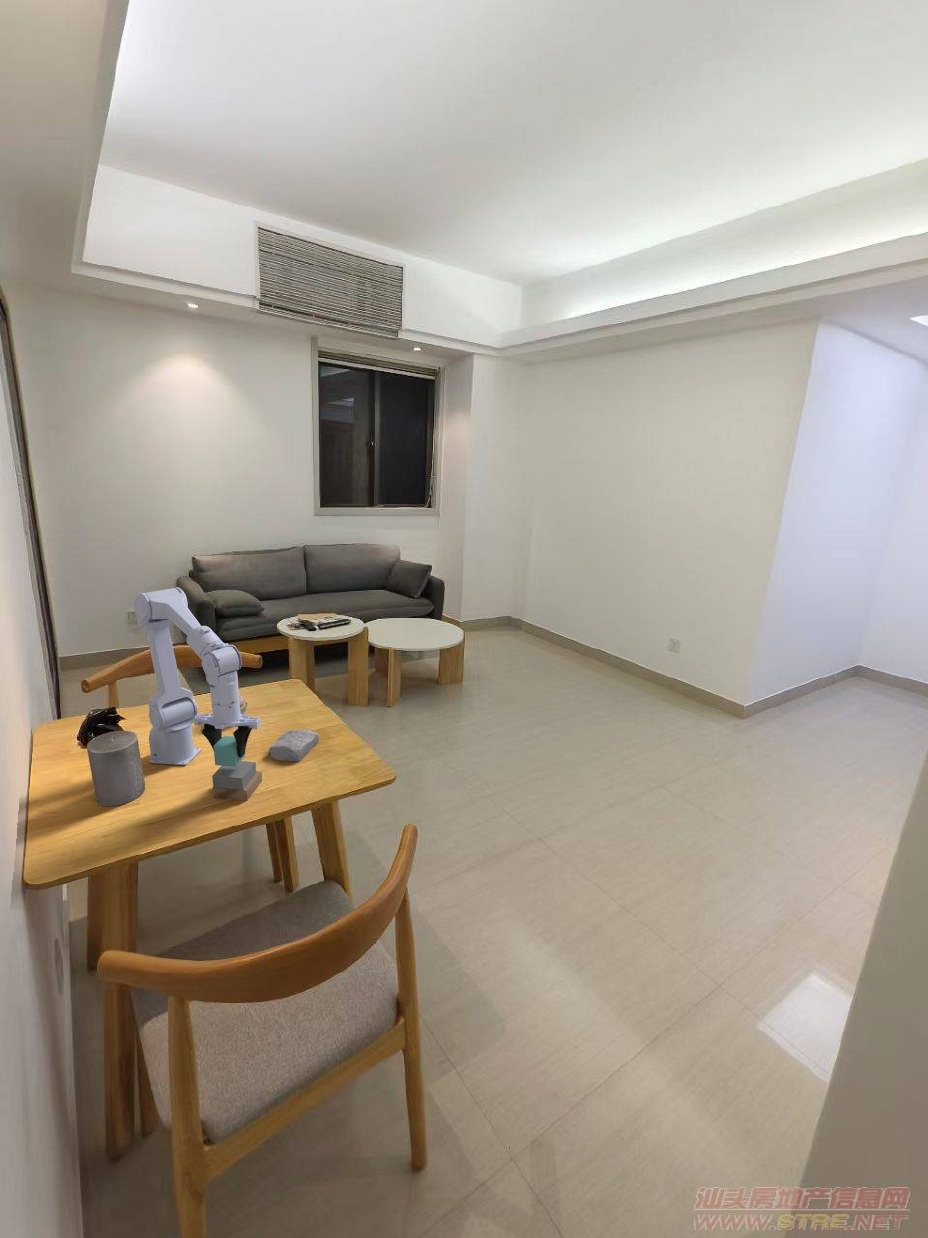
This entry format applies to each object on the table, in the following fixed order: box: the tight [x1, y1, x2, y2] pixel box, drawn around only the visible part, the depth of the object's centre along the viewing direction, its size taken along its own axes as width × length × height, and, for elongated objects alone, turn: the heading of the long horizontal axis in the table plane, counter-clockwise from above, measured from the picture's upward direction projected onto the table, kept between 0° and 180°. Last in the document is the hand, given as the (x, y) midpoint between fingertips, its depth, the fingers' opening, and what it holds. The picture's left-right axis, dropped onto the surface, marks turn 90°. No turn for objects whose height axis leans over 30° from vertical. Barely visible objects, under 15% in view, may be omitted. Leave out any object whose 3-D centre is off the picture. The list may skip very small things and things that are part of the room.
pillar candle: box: [86, 730, 146, 807], centre depth 125 cm, size 10×10×15 cm
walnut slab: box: [212, 770, 263, 801], centre depth 130 cm, size 8×8×3 cm
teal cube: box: [212, 735, 246, 767], centre depth 127 cm, size 5×5×5 cm
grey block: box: [211, 760, 257, 790], centre depth 129 cm, size 7×7×3 cm
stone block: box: [268, 728, 320, 763], centre depth 149 cm, size 12×5×10 cm
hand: (230, 754), depth 127 cm, fingers closed on teal cube, 5 cm apart
